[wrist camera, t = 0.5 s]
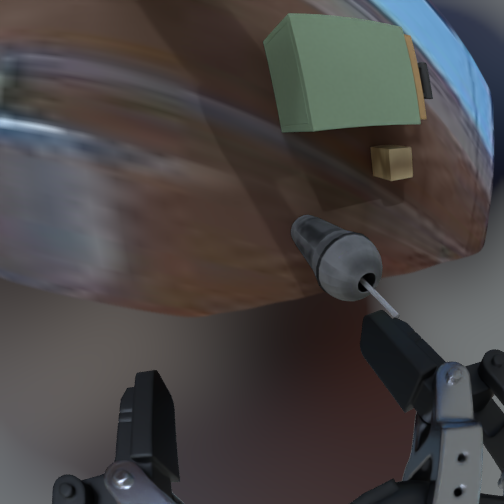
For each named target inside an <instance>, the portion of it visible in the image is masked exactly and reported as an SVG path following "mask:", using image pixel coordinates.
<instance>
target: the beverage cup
mask: <svg viewBox="0 0 504 504" xmlns="http://www.w3.org/2000/svg"><path fill="white" fill-rule="evenodd" d="M291 237H292V239H293V241H294V242H295V245H296V246H297V247H298V249H299V250H300V252H301V253H302V255H303V256H304V258H305V259H306V261H307V262H308V264H309V265H310V266H311V268H312V269H313V271H314V274H315V276H316V279H317V281H318V284H319V286H320V287H321V288H322V289H323V290H324V291H325V292H326V293H329V294H330V295H331V296H333V297H335V298H337V299H340V300H343V301H356V300H360V299H363V298H365V297H366V296H368V295H370V294H372V295H373V296H374V297H375V298H376V299H377V300H378V301H379V302H380V303H381V304H382V305H383V306H384V307H385V308H386V309H387V310H388V311H389V312H390V313H391V314H392V316H393V317H394V318H398V317H399V314H398V313H397V312H396V311H395V310H394V309H393V308H392V307H391V305H390V304H389V303H387V301H386V300H385V299H384V298H383V297H382V296H381V295H380V294H379V293H378V292H377V291H376V290H375V288H376V287H377V285H378V284H379V281H380V279H381V276H382V261H381V256H380V254H379V252H378V250H377V249H376V247H375V246H374V244H373V243H372V242H371V241H370V240H369V238H367V237H366V236H364V235H363V234H361V233H356V232H351V231H346V230H344V229H342V228H340V227H338V226H336V225H333V224H331V223H329V222H327V221H325V220H322V219H320V218H318V217H314V216H312V215H303V216H301V217H299V218H298V219H297V220H295V222H294V223H293V225H292V228H291Z"/></svg>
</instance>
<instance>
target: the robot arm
mask: <svg viewBox="0 0 504 504" xmlns="http://www.w3.org/2000/svg"><path fill="white" fill-rule="evenodd" d="M360 348H361V352H362V354H363V356H364V358H365V359H366V361H367V362H368V363H369V365H370V366H371V367H372V369H373V370H374V371H375V373H376V374H377V375H378V377H379V378H380V379H381V381H382V382H383V383H384V385H385V386H386V388H387V389H388V390H389V391H390V393H391V394H392V396H393V397H394V398H395V400H396V401H397V403H398V404H399V405H400V407H401V408H402V409H403V411H404V412H407V411H409V410H411V409H412V408H415V410H416V411H417V413H416V416H415V426H414V434H413V442H412V449H411V455H410V458H409V461H408V463H407V465H406V468H405V471H404V475H403V480H402V481H401V482H395V480H394V479H391V480H389V481H388V482H385V483H384V484H382V485H380V486H378V487H376V488H374V489H372V490H370V491H368V492H365V493H364V494H362V495H361V496H359V497H358V498H357V499H355V500H354V501H353V502H351V503H350V504H504V413H503V412H502V411H501V409H500V408H499V407H498V406H497V404H496V403H495V402H494V400H493V399H492V397H493V396H494V394H495V395H496V396H497V398H498V399H499V400H500V401H501V403H502V404H503V405H504V352H502V351H500V350H490V351H488V352H487V353H485V355H484V357H483V359H482V361H481V362H479V363H475V364H472V365H469V366H463V365H462V364H460V363H457V362H445V361H444V360H443V359H442V358H441V357H440V356H439V355H438V354H437V353H436V352H435V351H434V350H433V349H432V348H431V347H430V346H429V345H428V344H427V343H426V342H425V341H424V340H423V339H421V337H420V336H419V335H418V334H417V333H415V331H414V330H413V329H412V328H411V327H410V326H409V325H408V324H407V323H406V322H404V321H402V320H400V319H398V318H393V319H392V318H391V317H390V316H389V315H388V314H387V313H386V312H385V311H383V310H379V311H377V312H374V313H371V314H369V315H366V316H365V317H364V319H363V324H362V333H361V341H360ZM483 444H484V445H485V447H486V449H487V450H488V452H489V453H490V454H491V456H492V458H493V459H494V461H495V462H496V464H497V465H498V467H499V469H500V470H501V477H500V479H499V480H498V487H499V488H503V496H497V495H488V494H482V493H480V489H481V477H482V458H483ZM179 481H180V476H179V465H178V455H177V442H176V427H175V409H174V403H173V399H172V396H171V394H170V392H169V391H168V389H167V387H166V385H165V383H164V382H163V380H162V378H161V376H160V374H159V373H158V371H157V370H153V371H146V372H139V373H137V374H136V377H135V386H134V387H132V388H127V389H126V391H125V393H124V395H123V397H122V398H121V403H120V413H119V423H118V431H117V443H116V457H115V461H114V463H112V464H111V465H110V466H108V467H107V469H106V471H105V473H104V474H102V475H100V476H96V477H92V478H89V479H85V480H80V479H78V478H77V477H75V476H73V475H63V476H61V477H59V478H58V479H57V480H56V481H55V483H54V486H53V496H52V497H53V498H52V504H184V503H183V502H182V501H181V500H180V499H179V498H178V497H177V496H176V495H174V493H172V489H171V482H179Z"/></svg>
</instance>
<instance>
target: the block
mask: <svg viewBox="0 0 504 504" xmlns="http://www.w3.org/2000/svg"><path fill="white" fill-rule="evenodd" d="M370 149H371V159H372V171H373V176H375V177H379V178H382V179H386V180H389V181H394V180H400V179H405V178H411V177H413V169H412V152H411V147H407V146H400V145H382V146H372V147H370Z"/></svg>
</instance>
